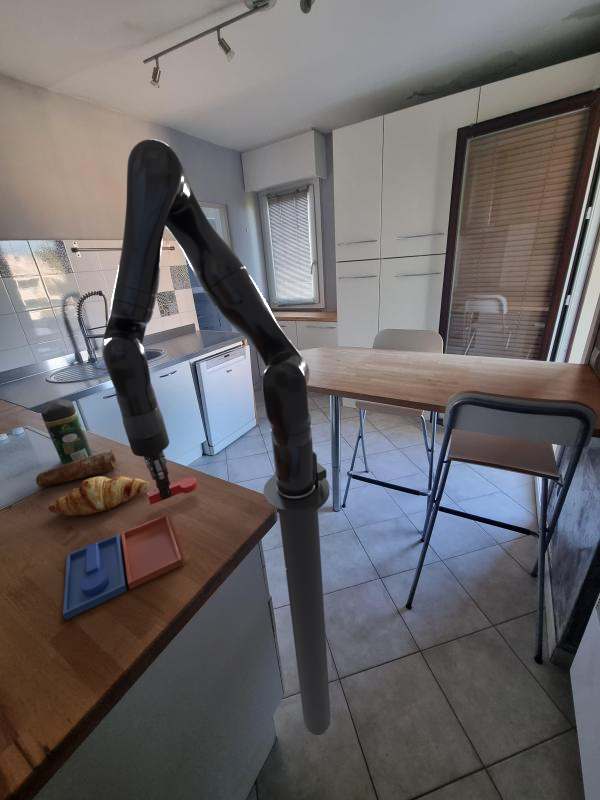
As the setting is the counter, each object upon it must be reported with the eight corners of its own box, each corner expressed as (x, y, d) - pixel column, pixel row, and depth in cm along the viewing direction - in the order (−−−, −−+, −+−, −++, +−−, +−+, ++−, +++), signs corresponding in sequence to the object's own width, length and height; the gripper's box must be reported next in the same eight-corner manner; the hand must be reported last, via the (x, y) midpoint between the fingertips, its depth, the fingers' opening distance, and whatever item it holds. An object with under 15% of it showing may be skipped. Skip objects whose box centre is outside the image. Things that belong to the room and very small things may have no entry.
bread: (118, 472, 91) (112, 455, 89) (36, 493, 85) (27, 475, 83) (120, 461, 96) (115, 444, 94) (43, 479, 90) (36, 462, 88)
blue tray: (120, 538, 68) (118, 533, 68) (127, 590, 57) (124, 585, 57) (69, 559, 64) (66, 554, 64) (65, 619, 53) (62, 614, 53)
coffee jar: (60, 457, 101) (36, 401, 93) (89, 448, 105) (69, 393, 98) (63, 471, 93) (38, 412, 86) (95, 460, 98) (73, 402, 90)
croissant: (153, 494, 87) (147, 463, 87) (149, 499, 77) (143, 465, 78) (58, 519, 79) (52, 486, 80) (41, 529, 70) (34, 492, 70)
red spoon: (151, 507, 74) (148, 499, 73) (148, 498, 77) (146, 490, 76) (199, 488, 78) (197, 481, 78) (194, 480, 82) (192, 473, 81)
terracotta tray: (168, 519, 73) (166, 514, 72) (182, 564, 62) (181, 558, 61) (123, 537, 69) (121, 532, 68) (130, 589, 57) (127, 583, 57)
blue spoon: (83, 557, 64) (79, 548, 63) (106, 547, 66) (103, 539, 65) (82, 600, 56) (78, 591, 55) (109, 588, 57) (105, 579, 57)
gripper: (123, 422, 74) (143, 486, 80) (130, 448, 63) (153, 519, 69) (158, 412, 77) (175, 475, 84) (171, 435, 66) (189, 504, 73)
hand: (165, 494), depth 77 cm, fingers closed on red spoon, 2 cm apart
